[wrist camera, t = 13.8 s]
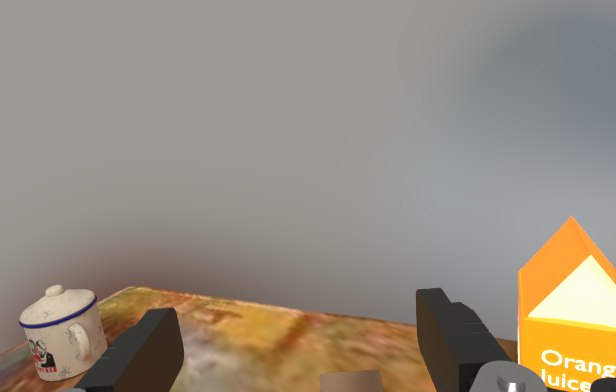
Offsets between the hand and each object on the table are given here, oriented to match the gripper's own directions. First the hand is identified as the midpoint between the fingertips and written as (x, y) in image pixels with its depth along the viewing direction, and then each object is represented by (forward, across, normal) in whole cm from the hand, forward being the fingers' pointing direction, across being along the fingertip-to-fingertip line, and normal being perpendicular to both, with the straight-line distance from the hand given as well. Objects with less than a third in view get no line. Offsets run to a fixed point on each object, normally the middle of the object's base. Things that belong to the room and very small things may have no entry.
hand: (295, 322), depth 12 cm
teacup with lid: (+33, +36, +26) cm, 55 cm away
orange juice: (+15, -20, +24) cm, 35 cm away
